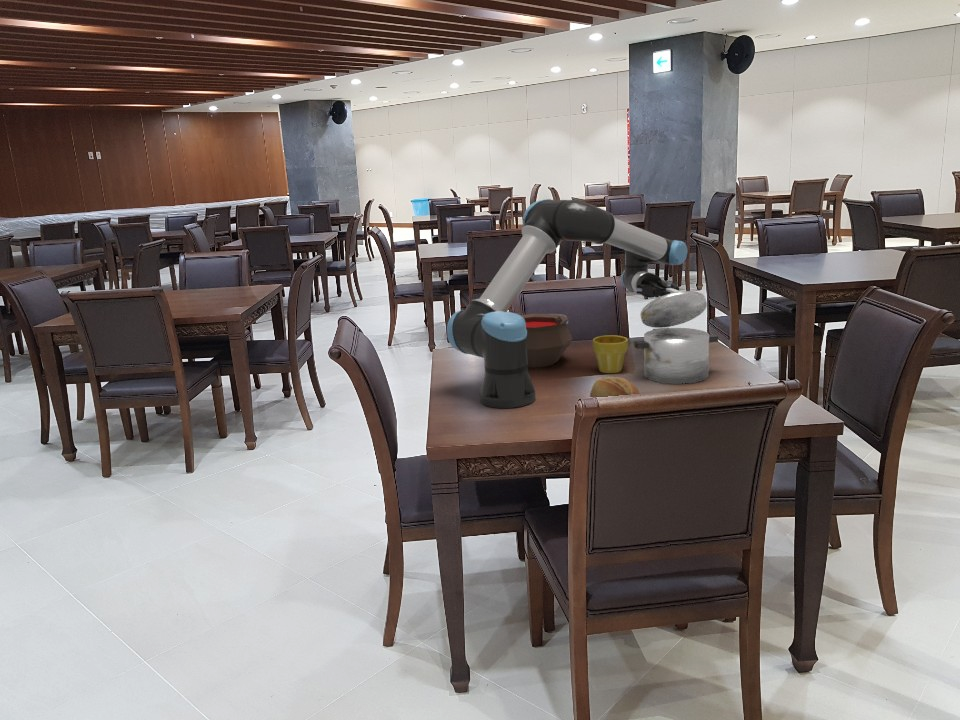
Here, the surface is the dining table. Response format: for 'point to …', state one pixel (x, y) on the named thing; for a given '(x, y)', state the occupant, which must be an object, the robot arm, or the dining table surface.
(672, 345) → the pressure cooker
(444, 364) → the dining table surface
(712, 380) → the dining table surface
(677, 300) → the cooker lid
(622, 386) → the bread roll
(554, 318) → the brown clay bowl
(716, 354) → the dining table surface
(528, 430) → the dining table surface
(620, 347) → the plant pot
